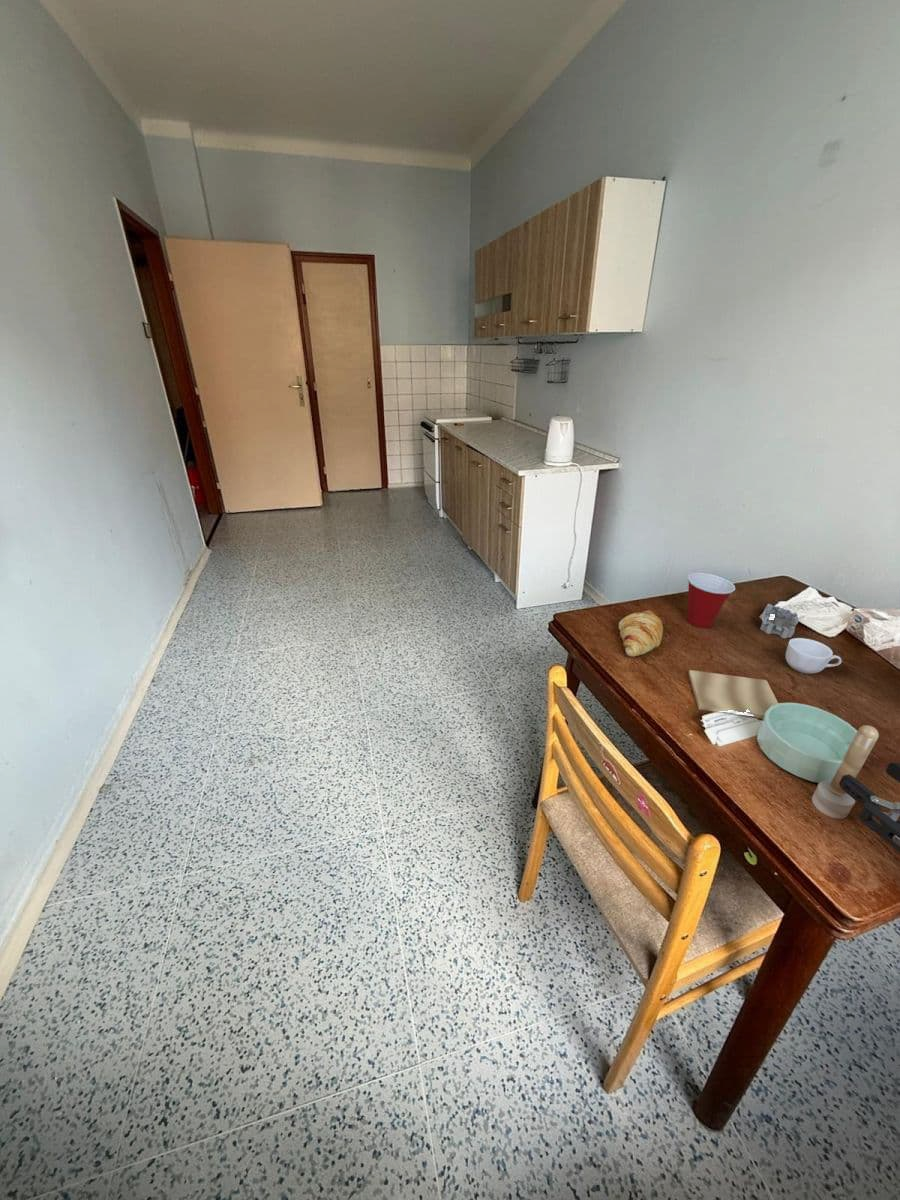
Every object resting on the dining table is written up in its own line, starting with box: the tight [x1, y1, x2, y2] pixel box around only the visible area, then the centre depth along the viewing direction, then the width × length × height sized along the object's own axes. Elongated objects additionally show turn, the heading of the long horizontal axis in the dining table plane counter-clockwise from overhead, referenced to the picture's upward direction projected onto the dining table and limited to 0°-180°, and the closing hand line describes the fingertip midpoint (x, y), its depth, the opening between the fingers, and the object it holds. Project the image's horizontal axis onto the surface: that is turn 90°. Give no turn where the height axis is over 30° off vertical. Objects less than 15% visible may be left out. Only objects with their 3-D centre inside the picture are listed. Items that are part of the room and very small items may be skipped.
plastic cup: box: [686, 572, 736, 629], centre depth 119 cm, size 11×11×12 cm
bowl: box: [756, 702, 858, 784], centre depth 81 cm, size 14×14×6 cm
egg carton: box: [759, 603, 800, 639], centre depth 118 cm, size 11×8×4 cm
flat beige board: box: [688, 669, 779, 720], centre depth 96 cm, size 15×12×1 cm
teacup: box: [785, 637, 842, 675], centre depth 102 cm, size 10×8×5 cm
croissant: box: [618, 609, 664, 658], centre depth 114 cm, size 21×10×8 cm, turn 150°
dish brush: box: [811, 724, 880, 820], centre depth 69 cm, size 5×5×16 cm
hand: (866, 772), depth 67 cm, fingers open, 8 cm apart
